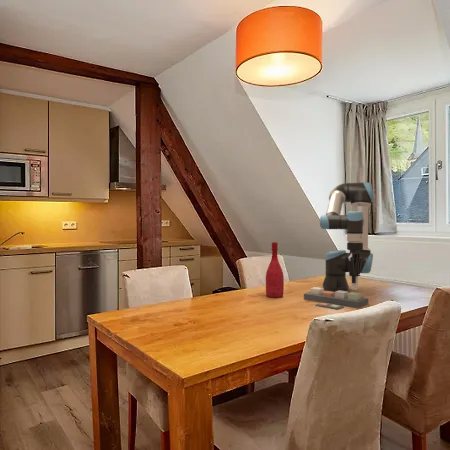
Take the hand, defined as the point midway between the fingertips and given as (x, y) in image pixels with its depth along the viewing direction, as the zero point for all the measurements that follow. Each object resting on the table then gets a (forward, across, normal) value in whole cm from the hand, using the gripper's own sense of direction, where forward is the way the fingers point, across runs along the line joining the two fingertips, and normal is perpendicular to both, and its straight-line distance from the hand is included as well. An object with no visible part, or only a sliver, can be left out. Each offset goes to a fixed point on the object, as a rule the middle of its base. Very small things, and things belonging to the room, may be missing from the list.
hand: (354, 289), depth 196 cm
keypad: (+8, 0, +11) cm, 13 cm away
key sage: (+5, 0, 0) cm, 5 cm away
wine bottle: (+8, -10, +42) cm, 43 cm away
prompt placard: (+8, -12, +8) cm, 16 cm away
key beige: (+5, 0, +7) cm, 9 cm away
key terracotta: (+7, 0, +14) cm, 16 cm away
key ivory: (+5, 0, +21) cm, 22 cm away
